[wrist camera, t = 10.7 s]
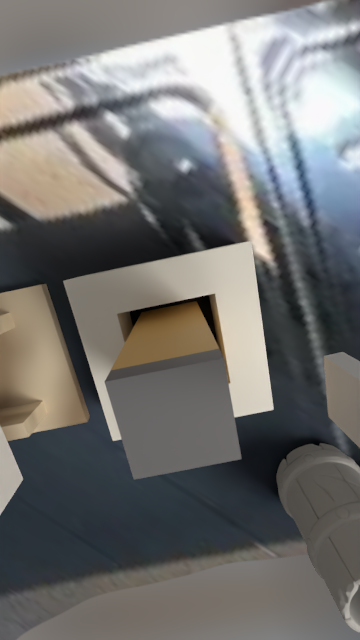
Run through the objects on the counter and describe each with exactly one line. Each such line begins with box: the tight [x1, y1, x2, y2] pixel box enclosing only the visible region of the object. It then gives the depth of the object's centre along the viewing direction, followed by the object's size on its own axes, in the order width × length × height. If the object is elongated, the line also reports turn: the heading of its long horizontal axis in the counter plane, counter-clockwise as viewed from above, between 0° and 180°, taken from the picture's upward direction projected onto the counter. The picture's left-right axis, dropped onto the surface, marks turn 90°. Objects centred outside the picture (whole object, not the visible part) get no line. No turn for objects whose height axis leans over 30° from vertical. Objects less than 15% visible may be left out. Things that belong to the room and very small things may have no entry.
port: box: [63, 241, 274, 441], centre depth 20 cm, size 12×12×4 cm
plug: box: [105, 301, 242, 480], centre depth 16 cm, size 4×4×12 cm
